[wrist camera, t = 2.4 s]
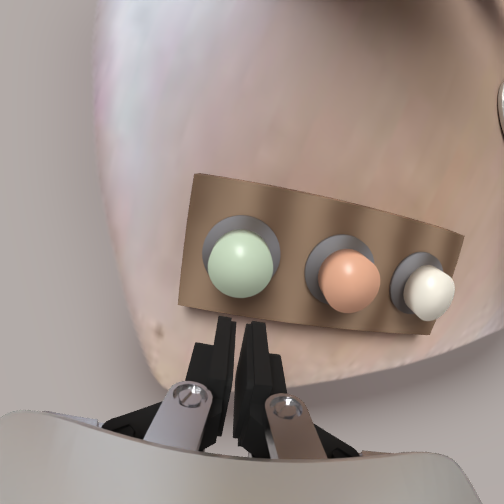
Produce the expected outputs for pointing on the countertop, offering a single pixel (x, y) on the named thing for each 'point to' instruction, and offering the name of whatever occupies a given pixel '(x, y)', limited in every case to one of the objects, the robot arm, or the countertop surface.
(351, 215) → the console
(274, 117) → the countertop surface
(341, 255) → the button terracotta
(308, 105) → the countertop surface
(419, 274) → the button cream
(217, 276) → the button sage
